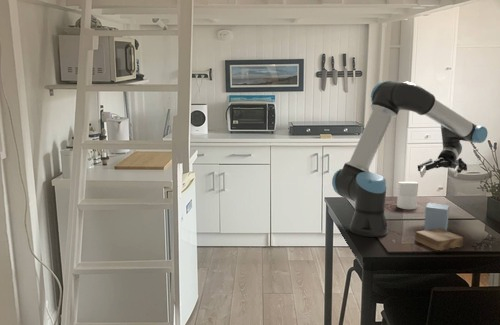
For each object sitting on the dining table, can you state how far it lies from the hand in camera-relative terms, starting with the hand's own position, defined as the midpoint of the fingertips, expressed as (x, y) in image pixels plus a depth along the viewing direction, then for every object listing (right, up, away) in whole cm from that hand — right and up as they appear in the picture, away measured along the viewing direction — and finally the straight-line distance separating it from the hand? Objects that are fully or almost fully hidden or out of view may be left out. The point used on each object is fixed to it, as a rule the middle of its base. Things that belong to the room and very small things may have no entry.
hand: (437, 174), depth 205 cm
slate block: (-3, -23, -6) cm, 24 cm away
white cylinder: (-3, -17, +31) cm, 36 cm away
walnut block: (-7, -26, -19) cm, 33 cm away
